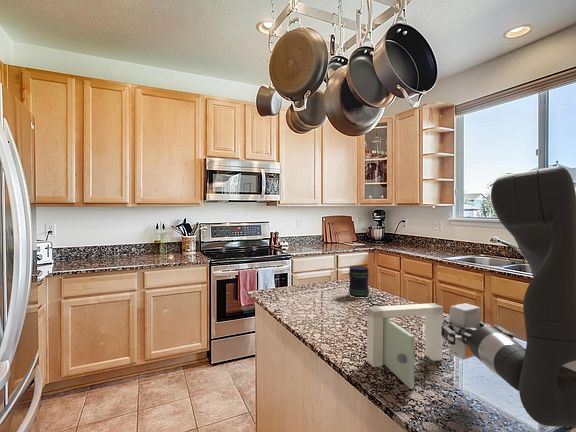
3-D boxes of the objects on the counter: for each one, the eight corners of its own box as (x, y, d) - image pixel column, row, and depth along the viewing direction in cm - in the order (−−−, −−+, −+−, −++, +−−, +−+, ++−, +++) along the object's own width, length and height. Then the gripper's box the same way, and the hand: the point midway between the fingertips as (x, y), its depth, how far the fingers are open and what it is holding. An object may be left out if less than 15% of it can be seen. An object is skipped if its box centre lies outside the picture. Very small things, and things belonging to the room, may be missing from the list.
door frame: (433, 354, 102) (434, 303, 101) (442, 360, 98) (443, 306, 98) (366, 360, 97) (367, 307, 97) (373, 367, 93) (373, 311, 93)
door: (414, 387, 82) (415, 336, 82) (403, 389, 81) (404, 337, 81) (383, 359, 97) (384, 316, 97) (374, 360, 96) (375, 316, 96)
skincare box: (464, 360, 78) (464, 310, 77) (448, 353, 82) (448, 305, 81) (480, 355, 80) (481, 307, 80) (465, 348, 84) (465, 302, 84)
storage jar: (366, 300, 162) (366, 269, 161) (346, 297, 166) (347, 268, 166) (370, 295, 171) (370, 266, 170) (351, 293, 175) (351, 265, 175)
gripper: (535, 334, 66) (489, 308, 82) (462, 333, 67) (431, 308, 83) (535, 370, 66) (489, 338, 83) (462, 369, 67) (431, 337, 83)
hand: (460, 323), depth 83 cm, fingers closed on skincare box, 7 cm apart
